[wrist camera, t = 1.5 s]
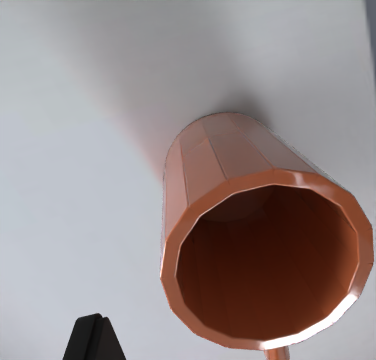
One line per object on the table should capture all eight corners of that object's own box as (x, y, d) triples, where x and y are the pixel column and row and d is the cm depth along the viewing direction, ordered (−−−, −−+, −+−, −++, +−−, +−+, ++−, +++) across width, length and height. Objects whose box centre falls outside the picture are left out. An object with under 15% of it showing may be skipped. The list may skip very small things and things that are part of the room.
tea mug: (150, 129, 18) (134, 202, 9) (273, 98, 18) (369, 144, 9) (192, 275, 21) (208, 423, 13) (295, 250, 21) (380, 385, 13)
